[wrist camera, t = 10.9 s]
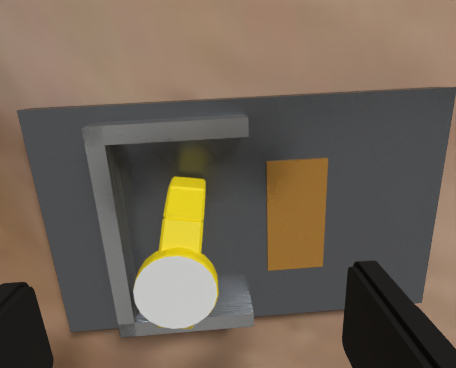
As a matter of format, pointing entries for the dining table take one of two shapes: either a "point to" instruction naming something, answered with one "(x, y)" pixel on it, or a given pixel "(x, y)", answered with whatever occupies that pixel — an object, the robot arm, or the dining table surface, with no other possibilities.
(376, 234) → the gray fixture board
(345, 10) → the dining table surface
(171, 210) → the watch
